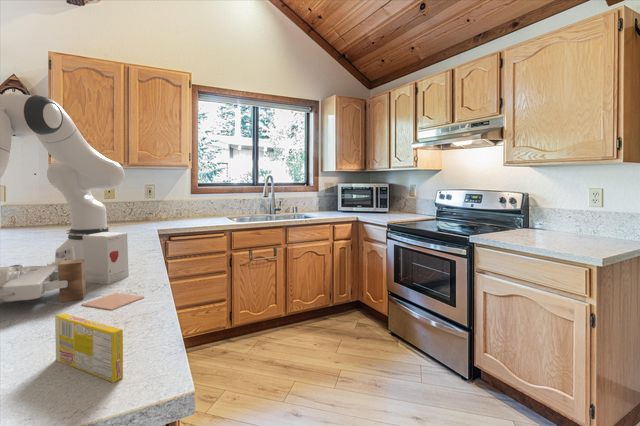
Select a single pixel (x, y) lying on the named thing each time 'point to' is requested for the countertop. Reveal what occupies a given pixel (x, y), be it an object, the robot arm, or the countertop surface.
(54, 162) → the robot arm
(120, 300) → the pad
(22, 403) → the countertop surface
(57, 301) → the grey square tile
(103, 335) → the candy box
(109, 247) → the supplement box
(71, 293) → the walnut block
